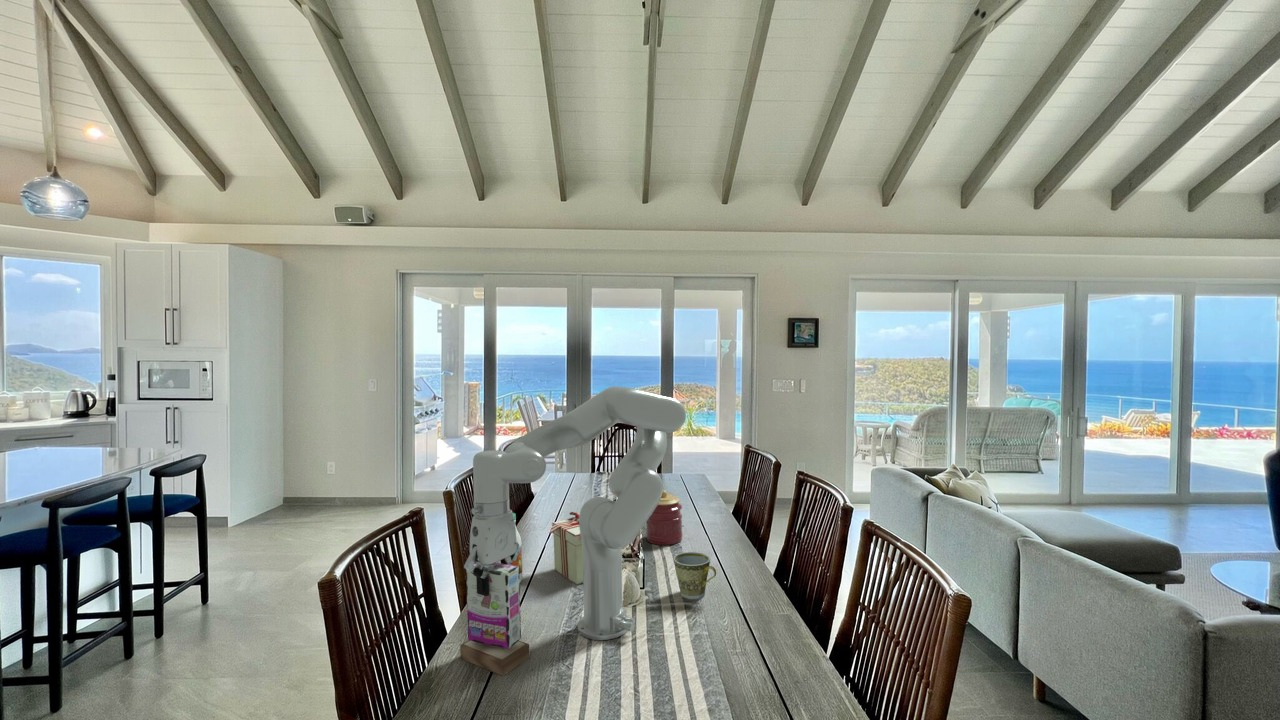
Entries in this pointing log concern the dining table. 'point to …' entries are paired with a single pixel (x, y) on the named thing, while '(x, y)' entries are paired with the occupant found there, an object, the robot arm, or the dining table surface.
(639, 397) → the robot arm
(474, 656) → the walnut plinth
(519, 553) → the milk bottle
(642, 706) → the dining table surface
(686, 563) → the ceramic cup
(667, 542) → the canister
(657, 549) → the dining table surface
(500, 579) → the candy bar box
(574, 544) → the gift box
